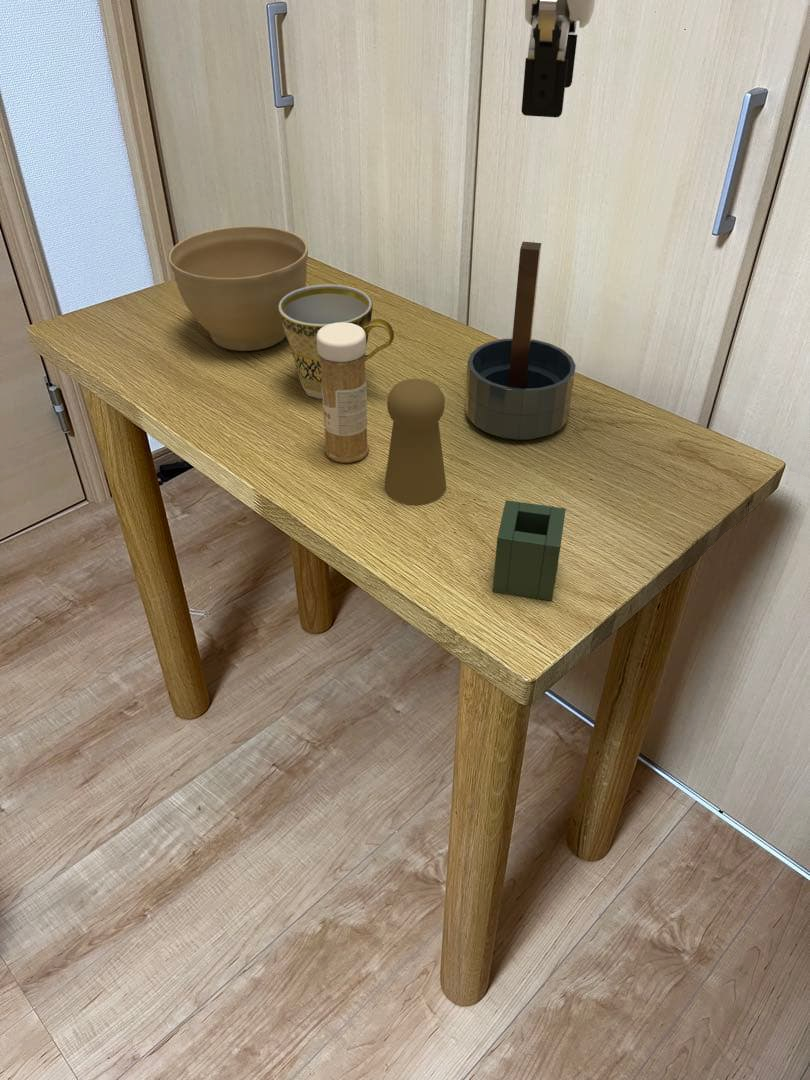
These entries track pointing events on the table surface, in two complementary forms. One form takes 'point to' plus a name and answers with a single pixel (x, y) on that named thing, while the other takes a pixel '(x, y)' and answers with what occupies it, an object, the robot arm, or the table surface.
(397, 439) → the brown peg doll
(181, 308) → the table surface
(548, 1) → the robot arm
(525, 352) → the stirring stick
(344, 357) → the sprinkles bottle
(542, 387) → the mixing bowl
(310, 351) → the ceramic cup
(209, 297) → the planter bowl
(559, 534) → the stick holder
